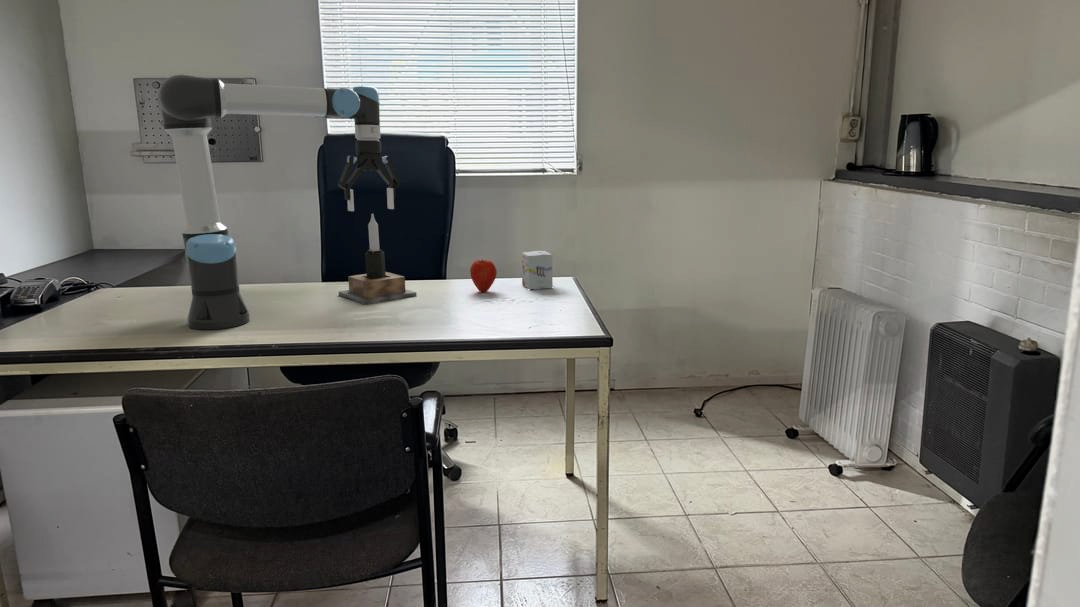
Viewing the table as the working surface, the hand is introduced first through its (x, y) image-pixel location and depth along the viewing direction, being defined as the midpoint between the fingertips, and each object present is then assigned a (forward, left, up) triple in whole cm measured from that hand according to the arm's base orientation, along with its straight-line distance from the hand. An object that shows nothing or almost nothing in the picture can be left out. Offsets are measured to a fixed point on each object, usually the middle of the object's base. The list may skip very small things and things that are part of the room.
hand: (371, 210), depth 213 cm
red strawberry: (+29, -18, -28) cm, 44 cm away
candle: (0, 0, -26) cm, 26 cm away
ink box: (+47, -24, -28) cm, 60 cm away
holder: (0, 0, -27) cm, 27 cm away
